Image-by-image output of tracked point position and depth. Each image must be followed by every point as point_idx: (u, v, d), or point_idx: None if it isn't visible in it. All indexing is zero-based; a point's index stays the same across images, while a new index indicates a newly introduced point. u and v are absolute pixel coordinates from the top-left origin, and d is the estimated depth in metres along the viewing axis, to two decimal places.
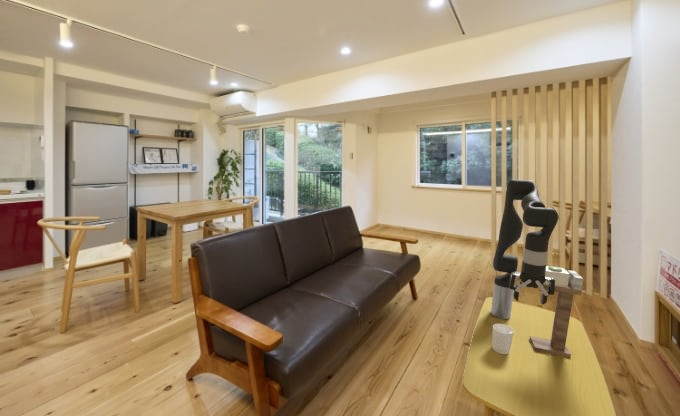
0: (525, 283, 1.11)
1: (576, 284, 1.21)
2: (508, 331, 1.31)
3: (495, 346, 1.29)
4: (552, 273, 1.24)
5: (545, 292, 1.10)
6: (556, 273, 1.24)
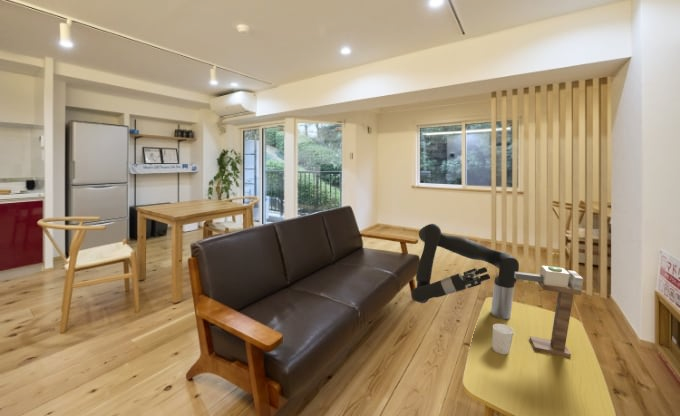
0: None
1: (576, 284, 1.21)
2: (508, 331, 1.31)
3: (495, 346, 1.29)
4: (552, 273, 1.24)
5: None
6: (556, 273, 1.24)
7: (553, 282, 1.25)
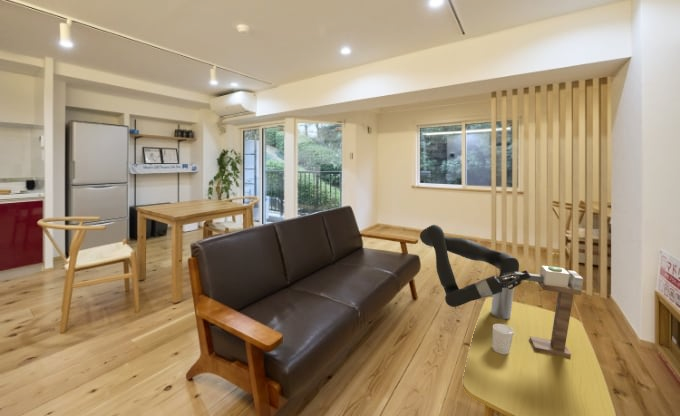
0: None
1: (576, 284, 1.21)
2: (508, 331, 1.31)
3: (495, 346, 1.29)
4: (552, 273, 1.24)
5: None
6: (556, 273, 1.24)
7: (553, 282, 1.25)
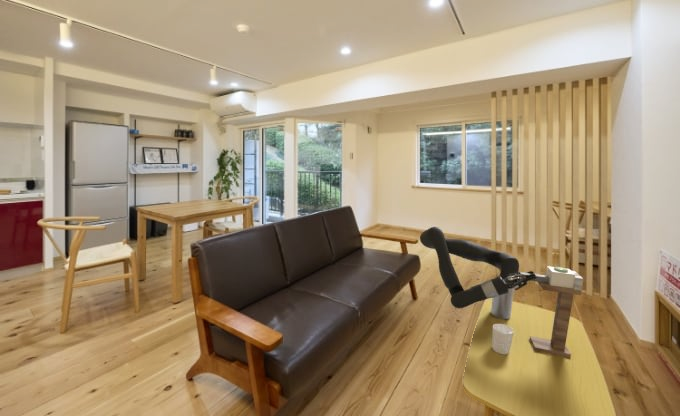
0: None
1: (576, 284, 1.21)
2: (508, 331, 1.31)
3: (495, 346, 1.29)
4: (558, 274, 1.24)
5: None
6: (562, 274, 1.23)
7: (558, 282, 1.24)
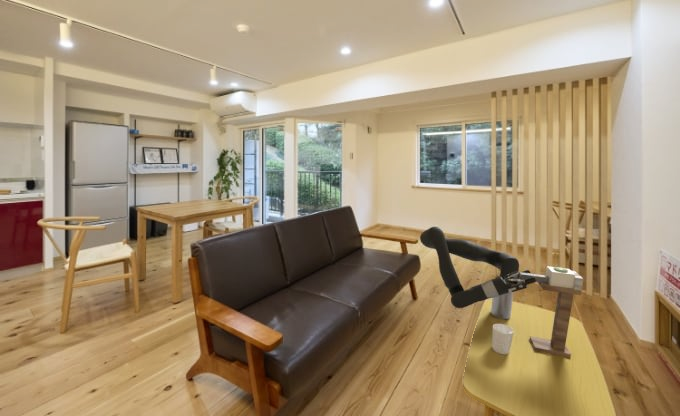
0: None
1: (576, 284, 1.21)
2: (508, 331, 1.31)
3: (495, 346, 1.29)
4: (558, 274, 1.24)
5: None
6: (562, 274, 1.23)
7: (558, 282, 1.24)
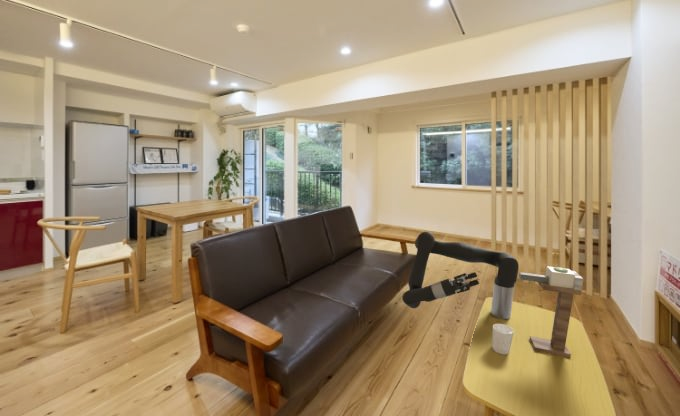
0: None
1: (576, 284, 1.21)
2: (508, 331, 1.31)
3: (495, 346, 1.29)
4: (558, 274, 1.24)
5: None
6: (562, 274, 1.23)
7: (558, 282, 1.24)
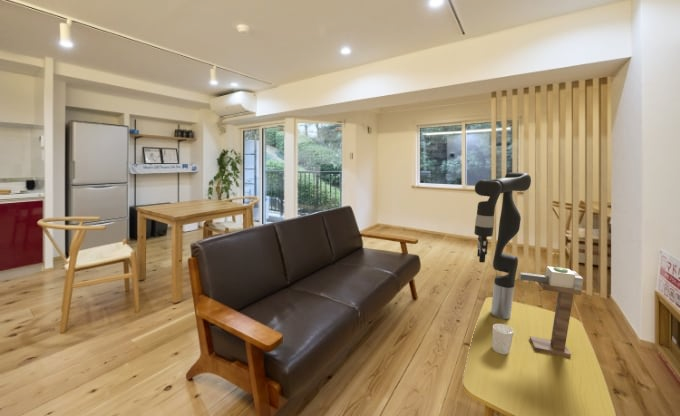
0: None
1: (576, 284, 1.21)
2: (508, 331, 1.31)
3: (495, 346, 1.29)
4: (558, 274, 1.24)
5: (480, 251, 1.33)
6: (562, 274, 1.23)
7: (558, 282, 1.24)
